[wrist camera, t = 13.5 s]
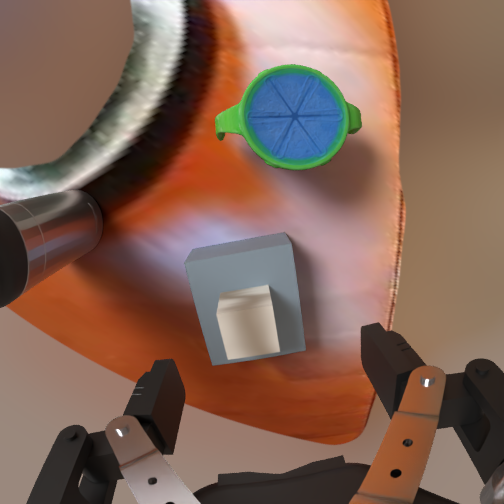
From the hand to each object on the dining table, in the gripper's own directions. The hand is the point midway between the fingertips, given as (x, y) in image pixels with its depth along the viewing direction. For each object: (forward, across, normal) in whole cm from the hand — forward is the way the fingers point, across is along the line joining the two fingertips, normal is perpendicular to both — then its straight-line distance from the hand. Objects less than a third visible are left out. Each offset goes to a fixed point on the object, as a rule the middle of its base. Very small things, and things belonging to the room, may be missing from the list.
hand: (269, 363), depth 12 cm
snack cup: (+28, -6, -12) cm, 31 cm away
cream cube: (+22, +2, +8) cm, 24 cm away
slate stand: (+28, +2, +8) cm, 29 cm away
